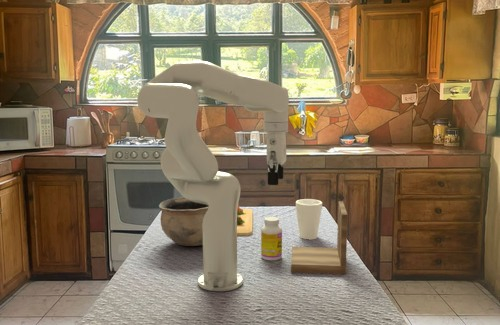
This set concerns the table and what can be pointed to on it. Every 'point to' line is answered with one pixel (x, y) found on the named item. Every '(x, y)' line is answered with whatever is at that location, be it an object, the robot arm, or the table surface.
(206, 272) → the robot arm
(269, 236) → the supplement bottle
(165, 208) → the ceramic bowl
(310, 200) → the foam cup
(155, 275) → the table surface
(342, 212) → the wooden bookend
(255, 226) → the table surface
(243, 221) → the cutting board
